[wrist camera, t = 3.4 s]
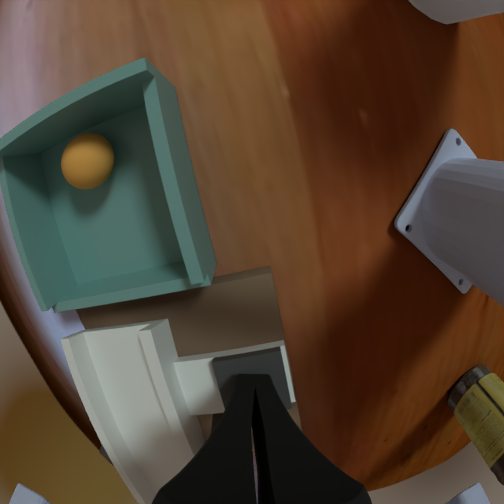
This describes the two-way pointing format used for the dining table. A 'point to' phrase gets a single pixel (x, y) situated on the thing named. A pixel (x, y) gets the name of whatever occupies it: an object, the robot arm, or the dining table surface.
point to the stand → (206, 321)
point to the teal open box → (107, 196)
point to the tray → (159, 395)
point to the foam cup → (457, 9)
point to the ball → (87, 161)
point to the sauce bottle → (482, 414)
